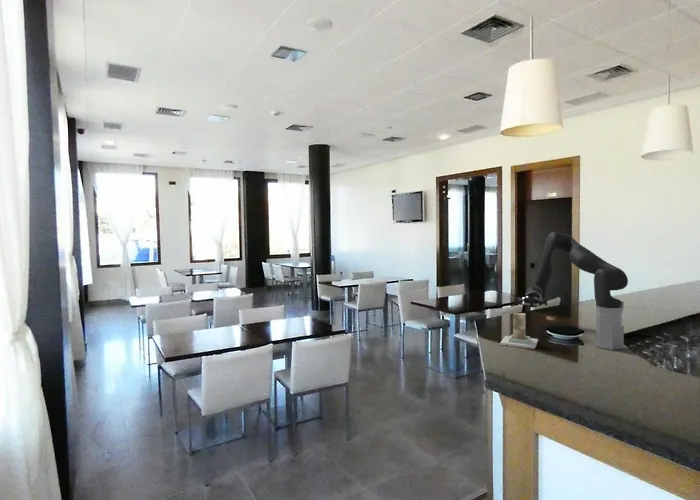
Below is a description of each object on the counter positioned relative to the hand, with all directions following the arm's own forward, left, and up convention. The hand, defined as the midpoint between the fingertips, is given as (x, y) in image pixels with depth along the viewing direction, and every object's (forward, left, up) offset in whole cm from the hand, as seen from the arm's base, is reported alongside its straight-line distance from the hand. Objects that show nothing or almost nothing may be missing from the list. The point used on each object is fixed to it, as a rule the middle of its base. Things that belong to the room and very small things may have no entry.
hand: (529, 303), depth 200 cm
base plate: (-9, +13, -16) cm, 22 cm away
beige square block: (-9, +13, -15) cm, 22 cm away
